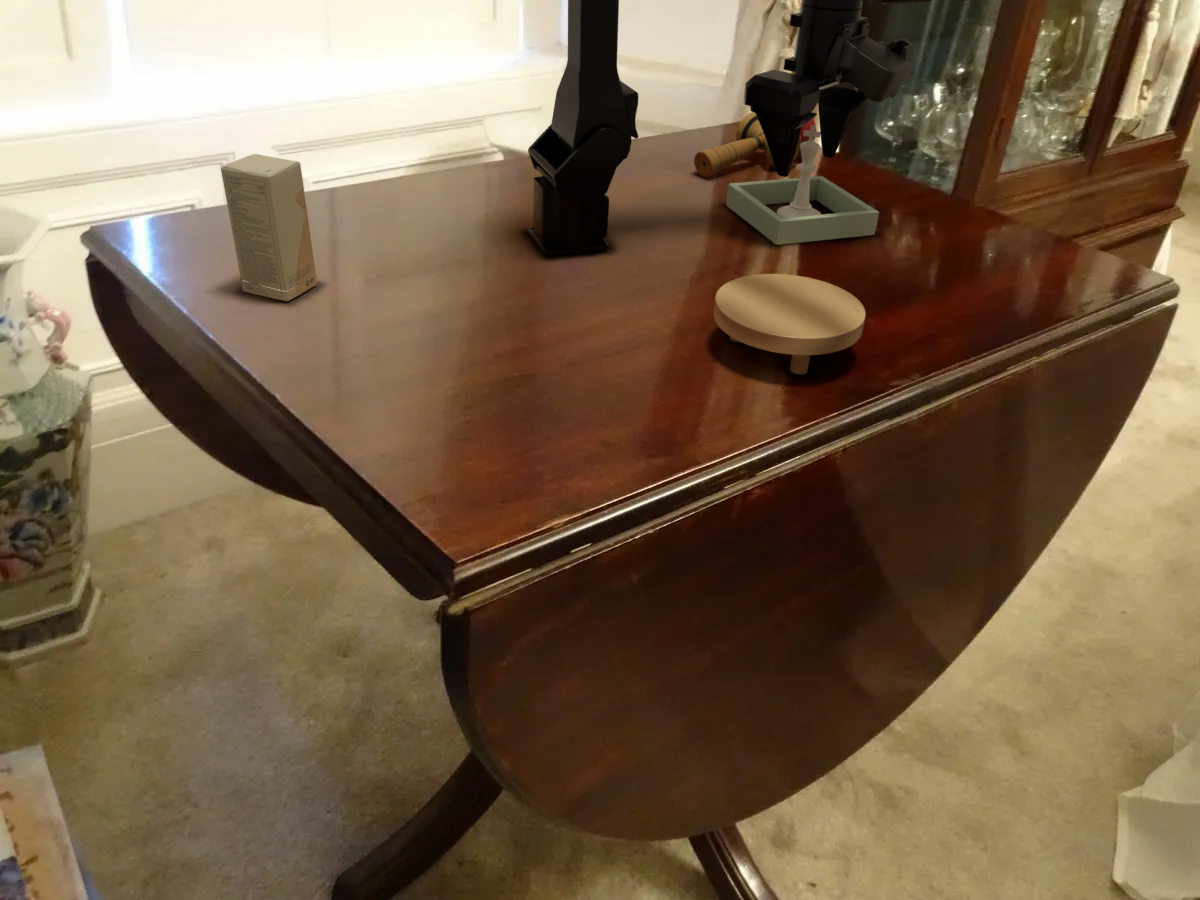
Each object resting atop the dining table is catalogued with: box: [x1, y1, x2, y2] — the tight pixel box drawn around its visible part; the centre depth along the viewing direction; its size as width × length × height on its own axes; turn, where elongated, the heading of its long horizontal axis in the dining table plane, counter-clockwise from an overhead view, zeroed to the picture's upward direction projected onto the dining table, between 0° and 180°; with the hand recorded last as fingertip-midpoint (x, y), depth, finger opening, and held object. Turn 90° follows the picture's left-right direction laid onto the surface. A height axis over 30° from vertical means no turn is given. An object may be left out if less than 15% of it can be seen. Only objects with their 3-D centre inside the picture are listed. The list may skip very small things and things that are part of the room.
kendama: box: [693, 112, 817, 178], centre depth 124 cm, size 8×6×18 cm
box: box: [220, 153, 318, 302], centre depth 88 cm, size 5×4×11 cm
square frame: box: [725, 175, 880, 246], centre depth 110 cm, size 12×12×2 cm
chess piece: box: [776, 124, 822, 218], centre depth 108 cm, size 5×5×10 cm
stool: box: [713, 273, 867, 375], centre depth 84 cm, size 12×12×4 cm
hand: (806, 166), depth 107 cm, fingers open, 9 cm apart
